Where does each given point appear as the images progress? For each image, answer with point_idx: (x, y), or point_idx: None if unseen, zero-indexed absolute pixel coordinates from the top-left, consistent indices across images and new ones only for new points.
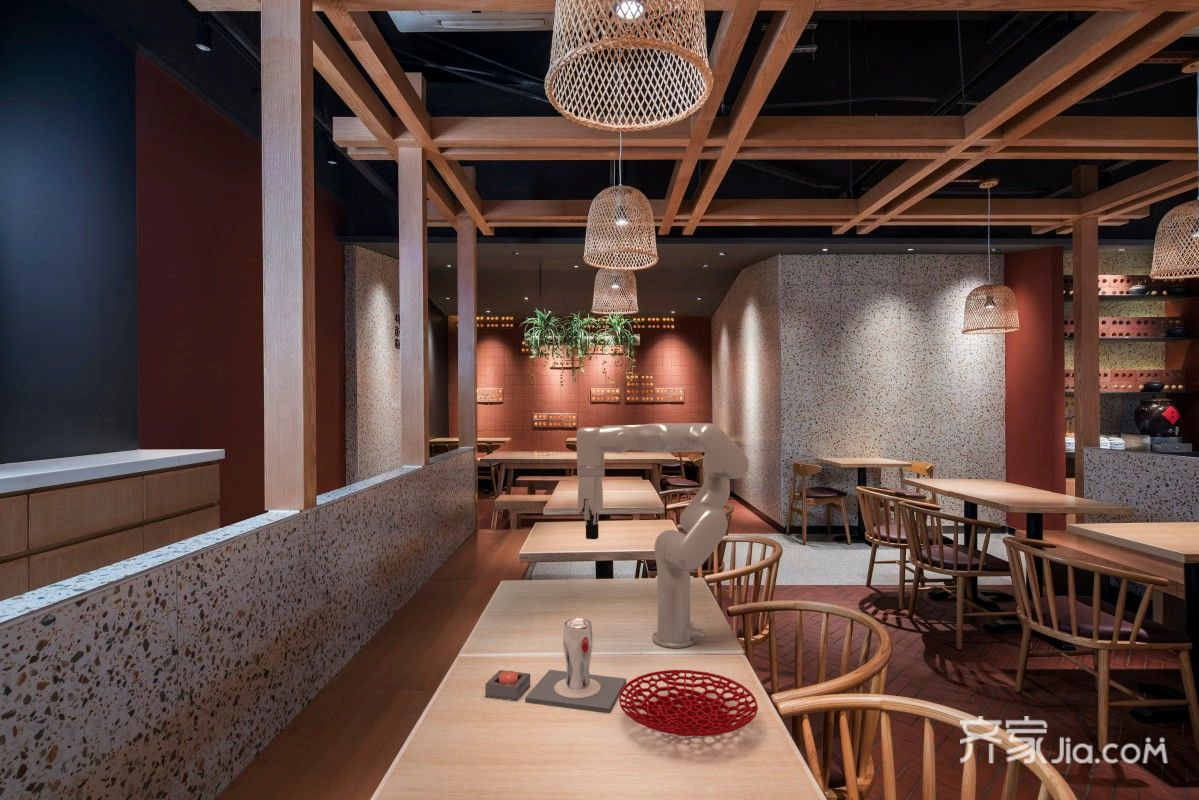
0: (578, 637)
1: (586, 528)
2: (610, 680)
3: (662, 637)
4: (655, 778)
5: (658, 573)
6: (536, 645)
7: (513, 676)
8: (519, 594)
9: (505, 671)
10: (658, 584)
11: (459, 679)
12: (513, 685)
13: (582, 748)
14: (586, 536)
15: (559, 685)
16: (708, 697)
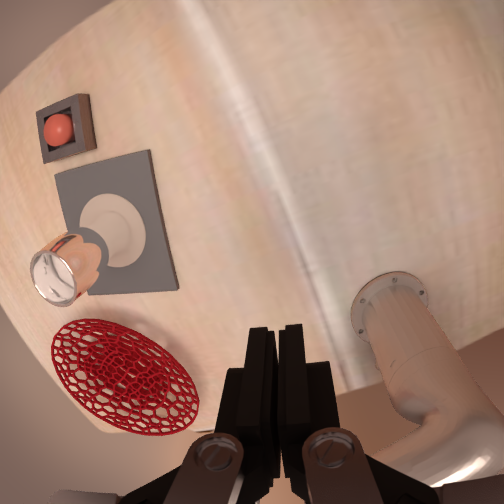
0: (47, 281)
1: (242, 396)
2: (158, 270)
3: (370, 302)
4: (41, 352)
5: (424, 382)
6: (271, 50)
7: (53, 142)
8: None
9: (61, 117)
10: (416, 360)
11: (78, 33)
12: (46, 153)
13: (30, 287)
14: (250, 340)
15: (101, 202)
16: (165, 394)
